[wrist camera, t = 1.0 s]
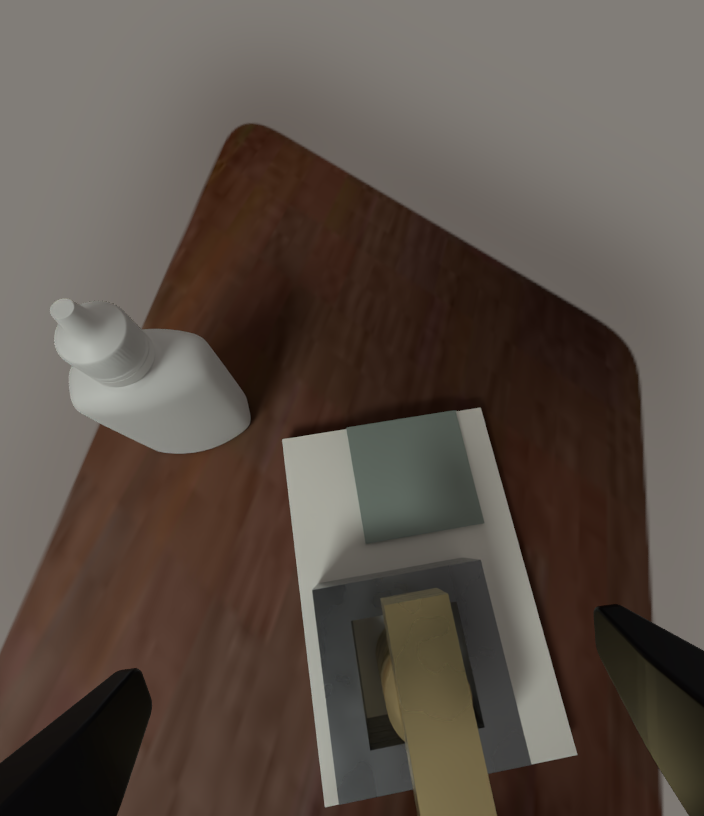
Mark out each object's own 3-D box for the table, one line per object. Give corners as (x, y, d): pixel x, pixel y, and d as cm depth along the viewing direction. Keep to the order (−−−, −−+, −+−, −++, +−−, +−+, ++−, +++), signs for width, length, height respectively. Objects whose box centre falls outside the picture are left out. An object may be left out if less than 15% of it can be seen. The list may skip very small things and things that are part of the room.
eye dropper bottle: (170, 378, 24) (10, 232, 13) (260, 397, 24) (178, 265, 13) (142, 448, 23) (-64, 354, 12) (237, 470, 23) (121, 396, 11)
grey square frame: (503, 729, 18) (531, 765, 15) (340, 762, 18) (338, 804, 15) (462, 557, 20) (480, 559, 17) (317, 583, 20) (311, 590, 17)
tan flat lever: (452, 729, 18) (521, 857, 11) (389, 741, 18) (415, 880, 10) (420, 573, 20) (460, 591, 13) (364, 584, 20) (371, 607, 12)
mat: (482, 523, 21) (484, 523, 20) (365, 544, 20) (365, 544, 20) (454, 411, 23) (455, 410, 22) (346, 429, 22) (346, 427, 22)
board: (565, 744, 19) (577, 754, 18) (326, 793, 18) (324, 807, 17) (475, 412, 24) (480, 407, 23) (285, 443, 23) (282, 439, 22)
